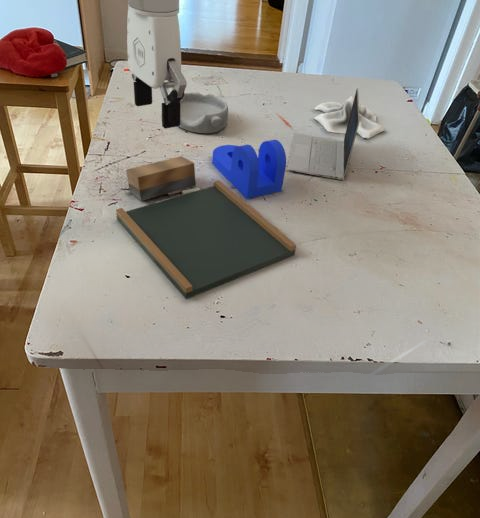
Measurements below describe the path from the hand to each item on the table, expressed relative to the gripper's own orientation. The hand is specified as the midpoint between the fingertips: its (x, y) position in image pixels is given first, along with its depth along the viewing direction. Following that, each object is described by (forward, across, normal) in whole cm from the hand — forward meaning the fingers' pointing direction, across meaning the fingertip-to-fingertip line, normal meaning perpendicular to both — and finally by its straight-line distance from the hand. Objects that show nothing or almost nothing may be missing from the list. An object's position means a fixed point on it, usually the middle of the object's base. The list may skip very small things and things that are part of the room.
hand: (157, 115), depth 82 cm
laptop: (+15, +4, +39) cm, 42 cm away
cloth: (+14, -8, +61) cm, 63 cm away
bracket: (+15, +2, +19) cm, 24 cm away
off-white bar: (+14, +3, +6) cm, 16 cm away
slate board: (+15, +16, 0) cm, 22 cm away
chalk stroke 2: (+14, +1, +4) cm, 15 cm away
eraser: (+15, 0, +1) cm, 15 cm away
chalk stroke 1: (+15, +4, -1) cm, 16 cm away
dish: (+15, -24, +24) cm, 37 cm away
